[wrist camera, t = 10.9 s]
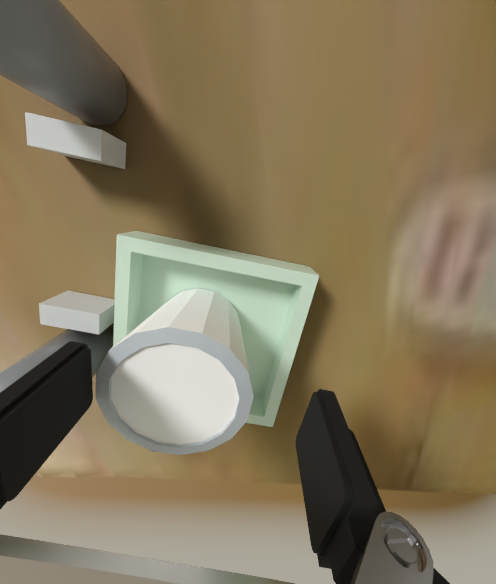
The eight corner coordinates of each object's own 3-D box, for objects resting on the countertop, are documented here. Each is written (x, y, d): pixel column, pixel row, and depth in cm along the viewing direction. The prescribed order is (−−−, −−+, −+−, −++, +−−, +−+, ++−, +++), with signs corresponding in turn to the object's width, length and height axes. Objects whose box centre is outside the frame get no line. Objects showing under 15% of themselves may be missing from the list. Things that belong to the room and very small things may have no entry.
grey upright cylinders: (130, 55, 13) (-87, -229, 5) (117, 365, 19) (14, 486, 11) (59, 38, 13) (-309, -297, 4) (69, 357, 19) (-74, 473, 10)
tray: (309, 266, 16) (319, 275, 14) (269, 401, 20) (272, 427, 18) (136, 230, 16) (116, 234, 13) (128, 377, 19) (111, 400, 17)
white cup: (248, 367, 18) (252, 456, 12) (156, 367, 18) (107, 458, 12) (249, 279, 16) (255, 328, 10) (145, 279, 16) (76, 329, 9)
